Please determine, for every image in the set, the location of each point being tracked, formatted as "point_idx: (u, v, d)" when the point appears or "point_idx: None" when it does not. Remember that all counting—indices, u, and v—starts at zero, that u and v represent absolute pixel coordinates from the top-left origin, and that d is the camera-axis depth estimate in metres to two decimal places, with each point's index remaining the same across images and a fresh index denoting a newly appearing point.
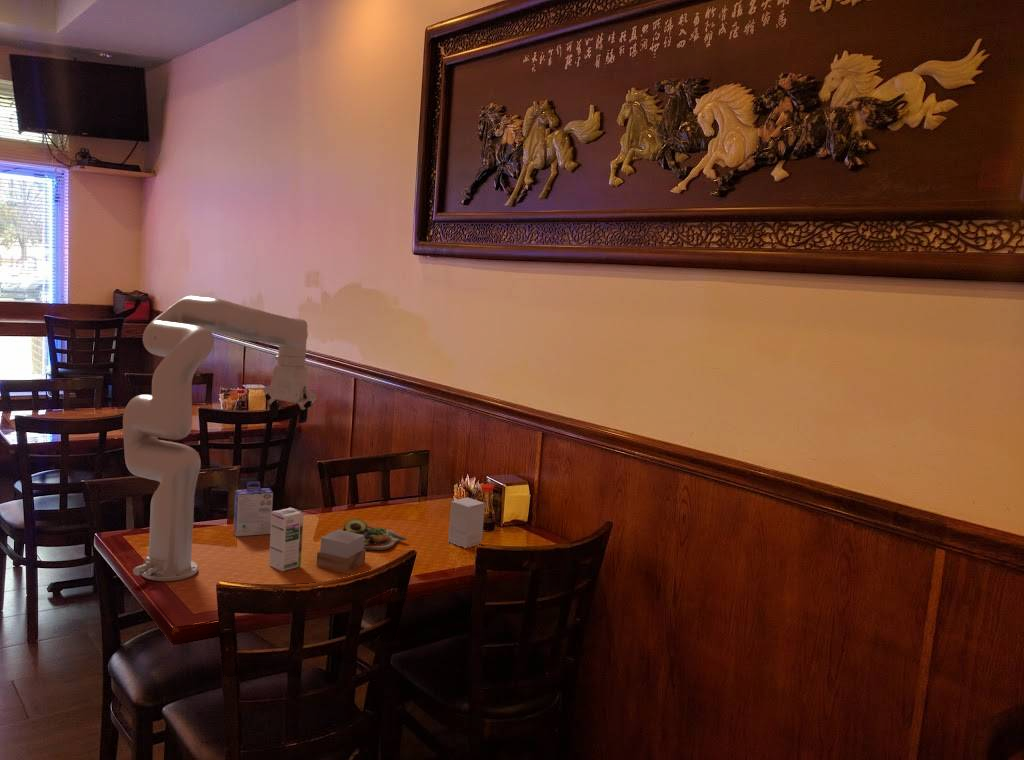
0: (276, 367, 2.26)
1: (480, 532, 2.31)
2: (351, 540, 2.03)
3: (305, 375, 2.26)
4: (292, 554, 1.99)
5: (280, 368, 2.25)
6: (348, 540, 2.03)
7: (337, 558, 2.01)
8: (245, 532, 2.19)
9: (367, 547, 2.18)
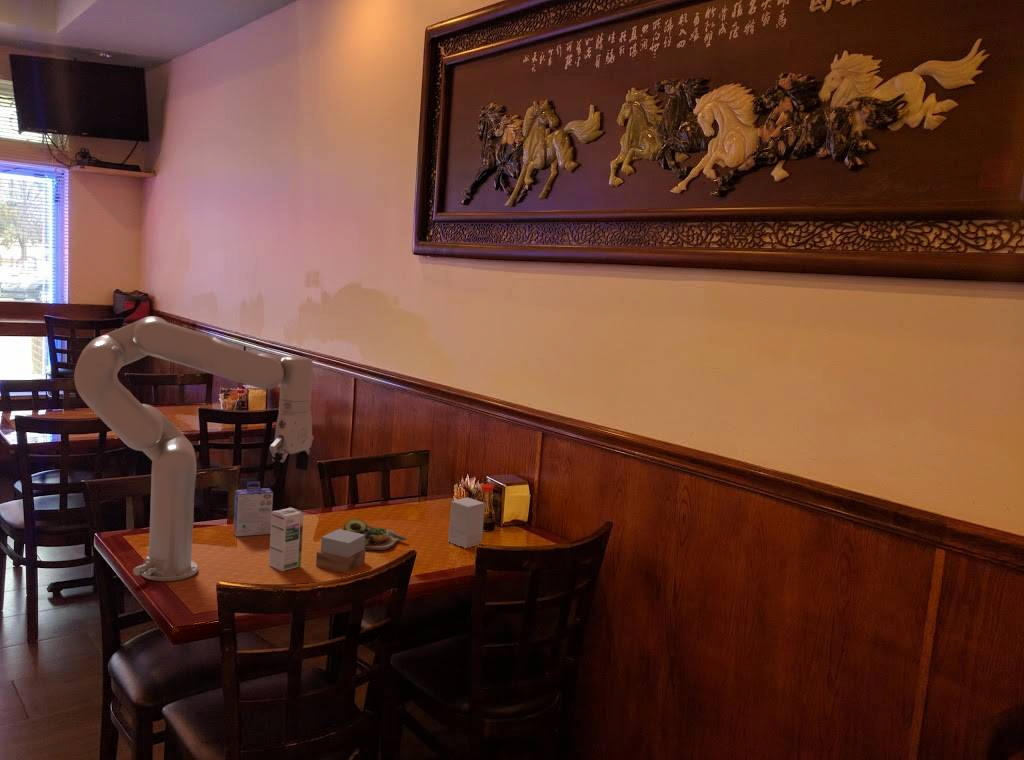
0: (295, 417, 1.93)
1: (480, 532, 2.31)
2: (352, 539, 2.03)
3: None
4: (292, 554, 1.99)
5: (299, 416, 1.94)
6: (348, 539, 2.03)
7: (337, 558, 2.01)
8: (245, 532, 2.19)
9: (367, 547, 2.18)
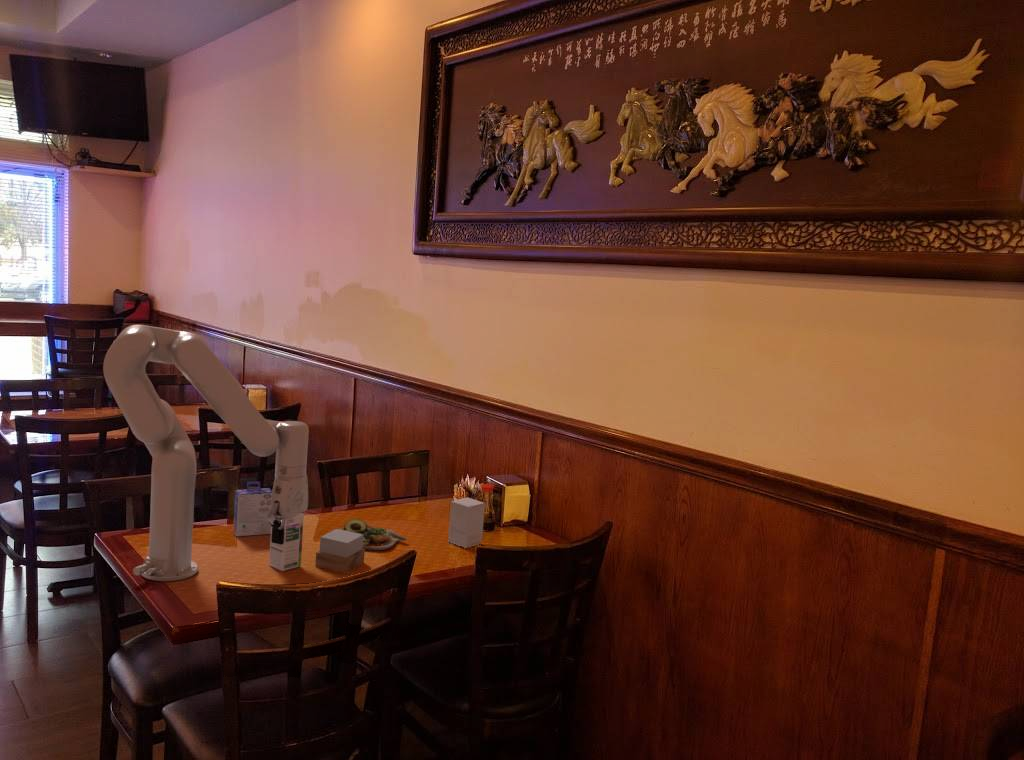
0: (290, 482, 1.94)
1: (480, 532, 2.31)
2: (350, 539, 2.03)
3: None
4: (292, 554, 1.99)
5: (295, 481, 1.96)
6: (347, 539, 2.03)
7: (336, 558, 2.01)
8: (245, 532, 2.19)
9: (367, 547, 2.18)
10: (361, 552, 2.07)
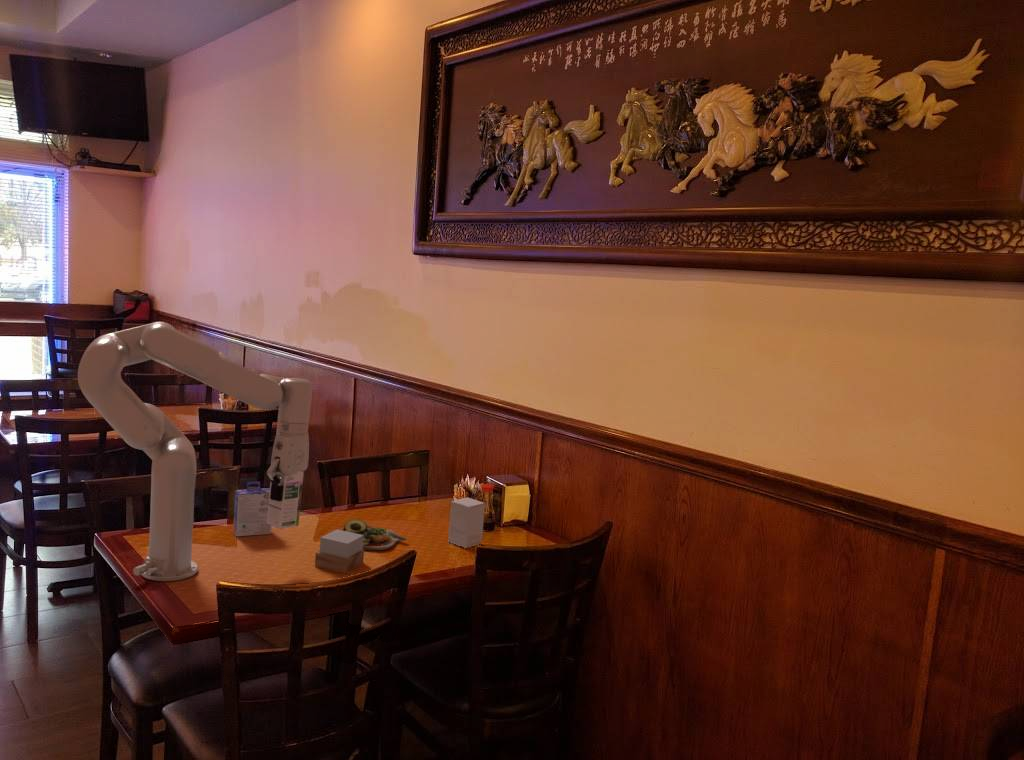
0: (292, 438, 1.93)
1: (480, 532, 2.31)
2: (350, 540, 2.03)
3: None
4: (290, 512, 1.97)
5: (296, 438, 1.94)
6: (347, 540, 2.03)
7: (336, 558, 2.01)
8: (245, 532, 2.19)
9: (367, 547, 2.18)
10: (360, 553, 2.07)
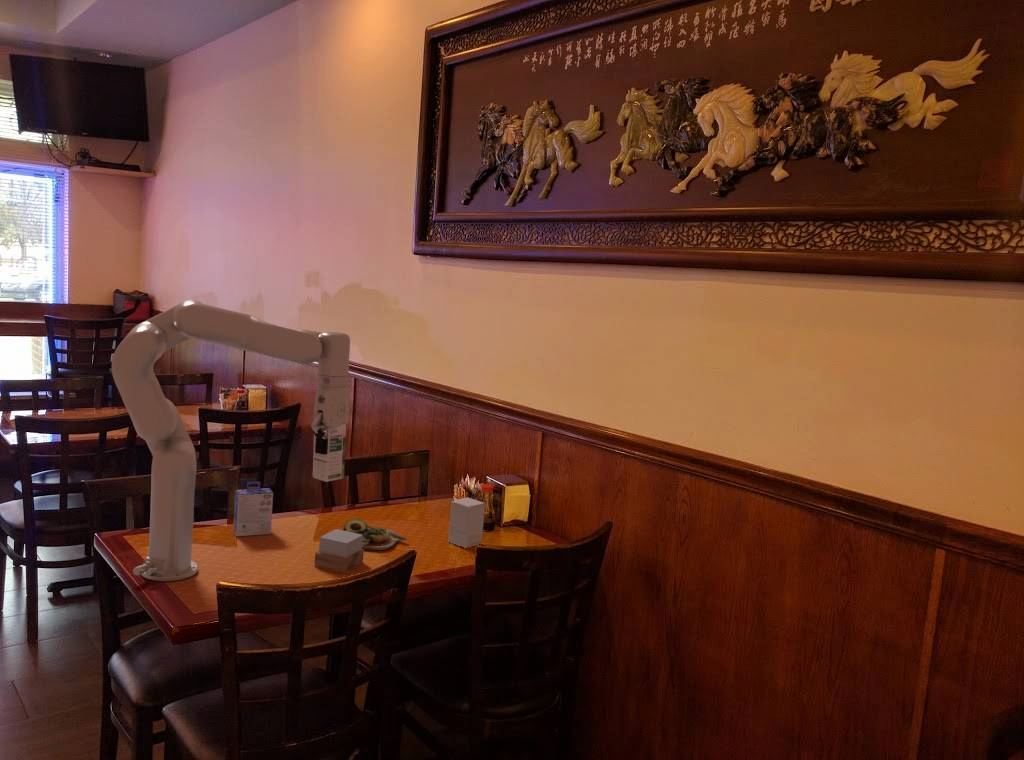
0: (334, 391, 1.95)
1: (480, 532, 2.31)
2: (350, 540, 2.03)
3: None
4: (336, 465, 1.99)
5: (337, 391, 1.96)
6: (346, 539, 2.03)
7: (335, 558, 2.01)
8: (245, 532, 2.19)
9: (367, 547, 2.18)
10: (360, 552, 2.07)
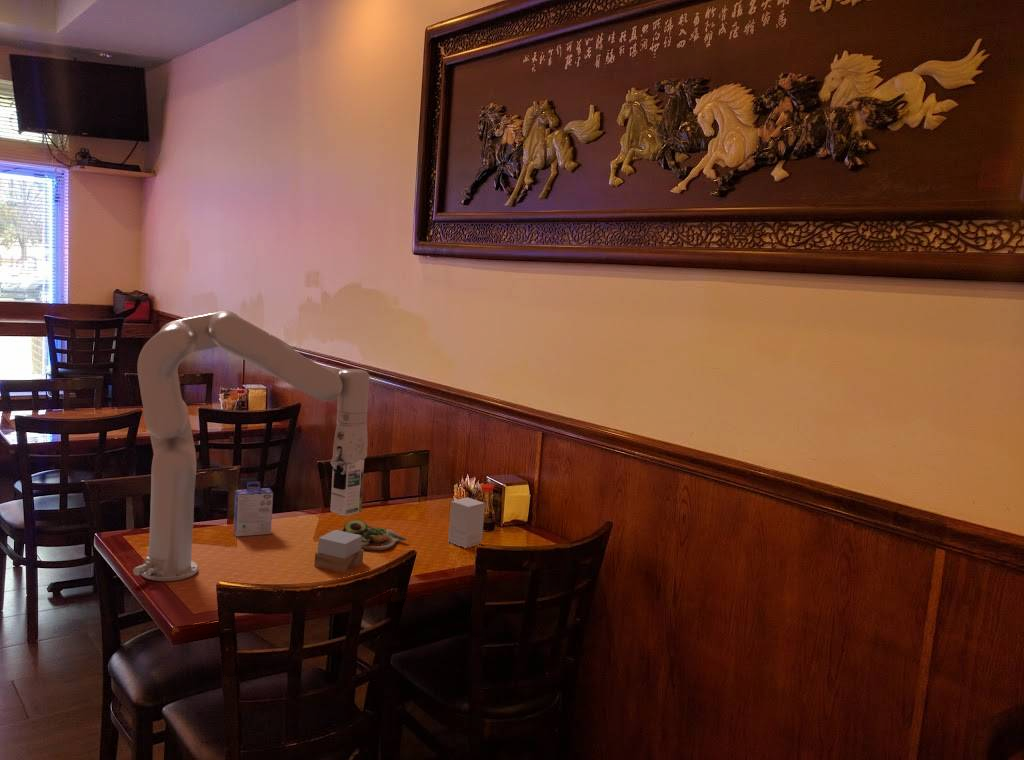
0: (353, 428, 1.98)
1: (480, 532, 2.31)
2: (348, 540, 2.02)
3: None
4: (353, 499, 2.02)
5: (356, 428, 1.99)
6: (345, 540, 2.02)
7: (335, 558, 2.01)
8: (245, 532, 2.19)
9: (367, 547, 2.18)
10: (360, 553, 2.07)
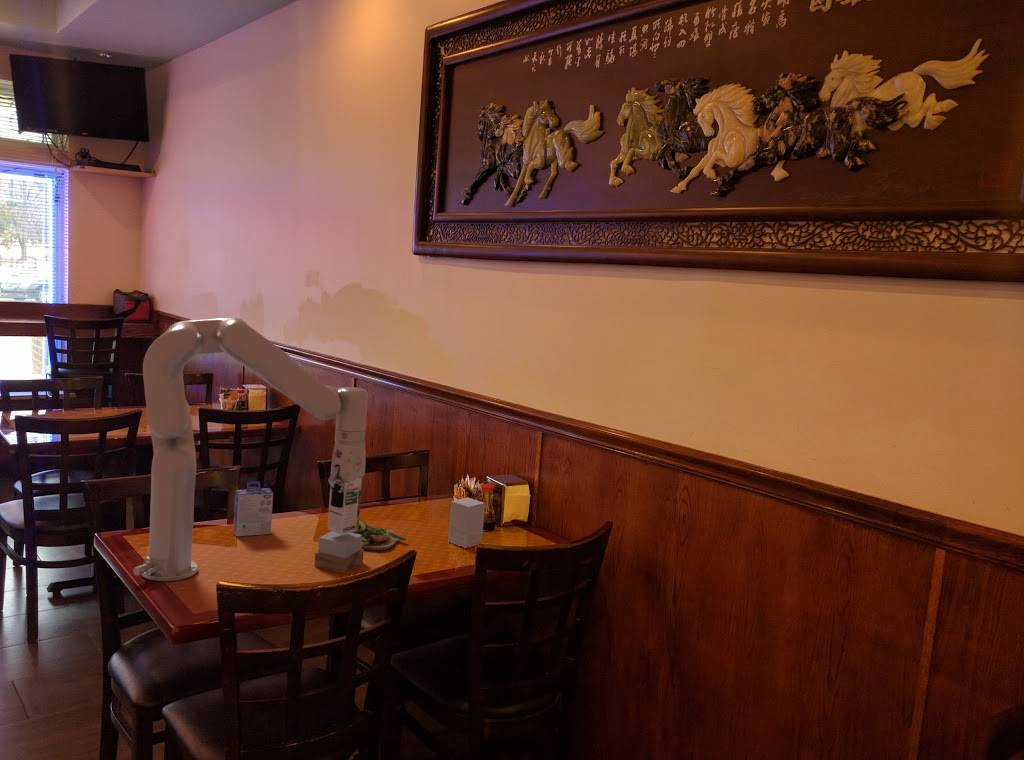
0: (351, 446, 1.98)
1: (480, 532, 2.31)
2: (349, 540, 2.02)
3: None
4: (351, 517, 2.03)
5: (354, 446, 2.00)
6: (346, 539, 2.02)
7: (335, 558, 2.01)
8: (245, 532, 2.19)
9: (367, 547, 2.18)
10: (360, 552, 2.07)
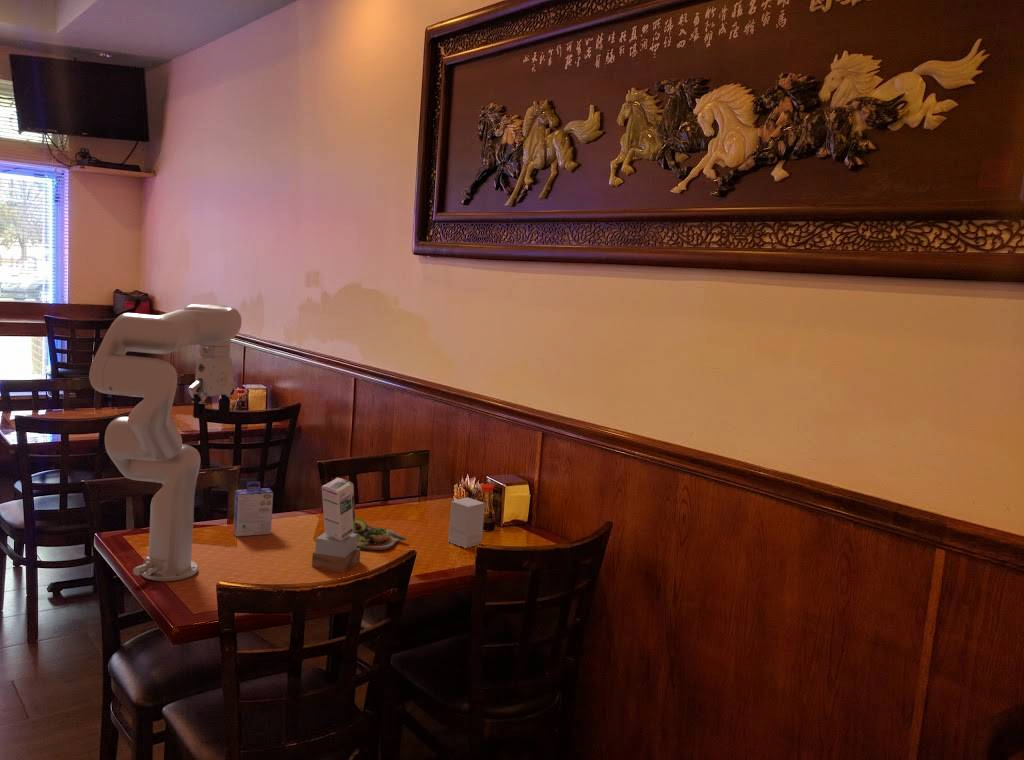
0: (213, 361, 2.04)
1: (480, 532, 2.31)
2: (347, 539, 2.03)
3: None
4: (347, 523, 2.02)
5: (218, 361, 2.05)
6: (344, 539, 2.03)
7: (333, 558, 2.01)
8: (245, 532, 2.19)
9: (367, 547, 2.18)
10: (357, 551, 2.07)
